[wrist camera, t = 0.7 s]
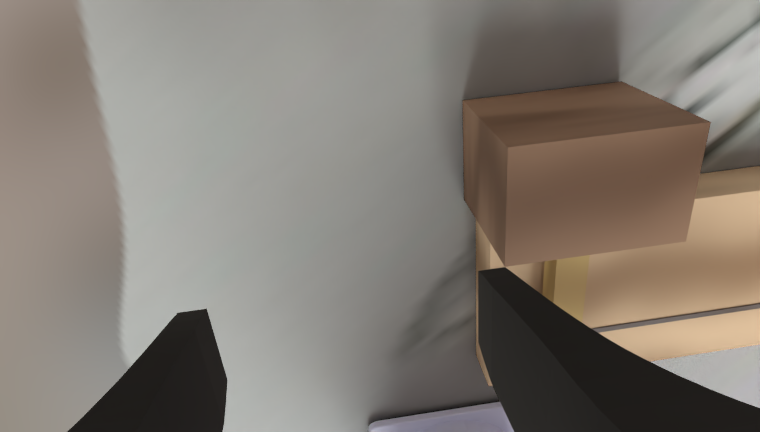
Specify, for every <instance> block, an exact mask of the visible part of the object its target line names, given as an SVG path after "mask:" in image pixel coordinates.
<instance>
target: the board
mask: <svg viewBox="0 0 760 432" xmlns="http://www.w3.org/2000/svg"><path fill="white" fill-rule="evenodd" d="M544 264H545V261H543V262H536V263H529V264H522V265H515V266H508V267H506V268H507V269H508V270H510V271H511V272H513V273H514V274H515V275H517V276H518V277H519V278H521V279H522V280H523V281H524V282H526V283H527V284H528V285H530V286H531V287H532V288H534V289H535V290H536V291H538V292H539V293H540V294H543V279H544ZM502 267H505V266H504V265H503V263H502V261H501V260H500V258H499V256H498V255H497V253H496V251H495V250H494V248H493V247H492V245H491V243H490V242H489V240H488V238H487V237H486V235H485V233H484V232H483V230H482V228H481V227H480V225H479V223H478V222H477V220H476V356H477V358H478V361H479V363H480V366H481V368H482V371H483V373H484V376H485V378H486V381H487V383H488V386H493V385H492V383H491V380H490V377H489V374H488V371H487V368H486V365H485V362H484V359H483V356H482V353H481V349H480V346H479V343H478V271H480V270H488V269H495V268H502ZM582 323H583V324H585V325H586V326H588V327H590V328H591V329H593V330H594V331H596V332H598V333H599V334H601V335H603V336H604V337H606V338H607V339H609V340H611V341H612V342H614V343H616V344H618V345H619V346H621V347H623V348H625V349H626V350H628V351H630V352H632V353H634V354H636V355H638V356H640V357H642V358H643V359H645V360H647V361H655V360H662V359H668V358H675V357H681V356H688V355H694V354H701V353H707V352H713V351H720V350H726V349H733V348H739V347H746V346H752V345H759V344H760V166H755V167H748V168H740V169H733V170H725V171H717V172H710V173H702V174H700V176H699V181H698V186H697V191H696V195H695V200H694V205H693V210H692V215H691V220H690V224H689V229H688V234H687V239H686V242H679V243H672V244H664V245H657V246H650V247H643V248H636V249H629V250H622V251H614V252H607V253H600V254H593V255H590V257H589V266H588V275H587V284H586V293H585V302H584V311H583V319H582Z"/></svg>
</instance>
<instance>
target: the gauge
mask: <svg viewBox="0 0 760 432" xmlns="http://www.w3.org/2000/svg"><path fill="white" fill-rule="evenodd" d="M710 123H711V122H709V121H707V120H705V119H703V118H701V117H698V116H696V115H694V114H692V113H690V112H687V111H685V110H683V109H681V108H679V107H676V106H674V105H672V104H670V103H668V102H665V101H663V100H661V99H659V98H657V97H654V96H652V95H650V94H648V93H645V92H643V91H641V90H639V89H637V88H634V87H632V86H630V85H628V84H626V83H623V82H614V83H605V84H597V85H588V86H580V87H572V88H563V89H555V90H546V91H538V92H529V93H521V94H513V95H504V96H496V97H487V98H479V99H470V100H463V161H464V200H465V202H466V203H467V205H468V207H469V208H470V210H471V212H472V213H473V215H474V217H475V218H476V220H477V222H478V223H479V225H480V227H481V228H482V230H483V232H484V233H485V235H486V237H487V238H488V240H489V242H490V243H491V245H492V247H493V248H494V250H495V251H496V253H497V255H498V256H499V258H500V260H501V261H502V263H503V265H504V266H505V267H508V266H515V265H522V264H529V263H536V262H543V261H545V264H544V279H543V294H542V295H543V296H545V297H546V298H547V299H549V300H550V301H551V302H553V303H554V304H556V305H557V306H558V307H560V308H561V309H563V310H564V311H565V312H567V313H568V314H570V315H571V316H573V317H574V318H576V319H577V320H579V321H580V322H582V319H583V311H584V302H585V293H586V284H587V275H588V266H589V257H590V255H593V254H600V253H607V252H614V251H622V250H629V249H636V248H643V247H650V246H657V245H664V244H672V243H679V242H686V239H687V234H688V229H689V224H690V220H691V215H692V210H693V205H694V200H695V195H696V191H697V186H698V181H699V176H700V171H701V166H702V161H703V157H704V152H705V147H706V142H707V137H708V132H709V128H710Z"/></svg>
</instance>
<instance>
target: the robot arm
mask: <svg viewBox="0 0 760 432" xmlns="http://www.w3.org/2000/svg"><path fill="white" fill-rule="evenodd" d="M478 343H479V346H480V349H481V353H482V356H483V359H484V362H485V365H486V368H487V371H488V374H489V377H490V380H491V383H492V385H493V387H494V390H495V392H496V394H497V396H498V398H499V400H500V402H494V403H488V404H482V405H475V406H469V407H463V408H456V409H450V410H444V411H437V412H431V413H424V414H418V415H412V416H405V417H399V418H393V419H386V420H380V421H375V422H373V423H371V424H370V425H369V427H368V432H760V408H757V407H755V406H752V405H749V404H746V403H743V402H741V401H738V400H735V399H733V398H730V397H728V396H725V395H723V394H720V393H717V392H715V391H713V390H710V389H708V388H706V387H703V386H701V385H699V384H696V383H694V382H692V381H689V380H687V379H685V378H682V377H680V376H678V375H676V374H674V373H672V372H669V371H667V370H665V369H663V368H661V367H659V366H657V365H655V364H653V363H651V362H649V361H647V360H645V359H643V358H642V357H640V356H638V355H636V354H634V353H632V352H630V351H628V350H626V349H625V348H623V347H621V346H619V345H618V344H616V343H614V342H612V341H611V340H609V339H607V338H606V337H604V336H603V335H601V334H599V333H598V332H596V331H594V330H593V329H591V328H590V327H588V326H586V325H585V324H583V323H582V322H580V321H579V320H577V319H576V318H574V317H573V316H571V315H570V314H568V313H567V312H565V311H564V310H563V309H561V308H560V307H558V306H557V305H556V304H554V303H553V302H551V301H550V300H549V299H547V298H546V297H545V296H543V295H542V294H540V293H539V292H538V291H536V290H535V289H534V288H532V287H531V286H530V285H528V284H527V283H526V282H524V281H523V280H522V279H521V278H519V277H518V276H517V275H515V274H514V273H513V272H511V271H510V270H508V269H507V268H506V267H502V268H495V269H488V270H480V271H478ZM226 391H227V377H226V374H225V371H224V367H223V364H222V360H221V357H220V353H219V350H218V347H217V343H216V340H215V336H214V333H213V329H212V326H211V322H210V319H209V316H208V312H207V309H203V310H195V311H188V312H181V313H177V315H176V316H175V317H174V318H173V319H172V320H171V321H170V322H169V323H168V325H167V326H166V327H165V328H164V329H163V330H162V332H161V333H160V334H159V335H158V336H157V337H156V339H155V340H154V341H153V342H152V343H151V344H150V346H149V347H148V348H147V349H146V350H145V351H144V353H143V354H142V355H141V356H140V357H139V358H138V359H137V360H136V362H135V363H134V364H133V365H132V366H131V367H130V368H129V369H128V371H127V372H126V373H125V374H124V375H123V376H122V377H121V379H119V381H118V382H117V383H116V384H115V385H114V386H113V387H112V388H111V389H110V390H109V391H108V392H107V393H106V394H105V395H104V396H103V397H102V398H101V399H100V400H99V401H98V402H97V403H96V404H95V405H94V406H93V407H92V408H91V409H90V410H89V412H87V413H86V414H85V415H84V417H83V418H81V419H80V420H79V421H78V422H77V423H76V424H75V425H74V426H73V427H72V428H71V429H70V430H69V431H68V432H222V430H223V425H224V416H225V405H226Z"/></svg>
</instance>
